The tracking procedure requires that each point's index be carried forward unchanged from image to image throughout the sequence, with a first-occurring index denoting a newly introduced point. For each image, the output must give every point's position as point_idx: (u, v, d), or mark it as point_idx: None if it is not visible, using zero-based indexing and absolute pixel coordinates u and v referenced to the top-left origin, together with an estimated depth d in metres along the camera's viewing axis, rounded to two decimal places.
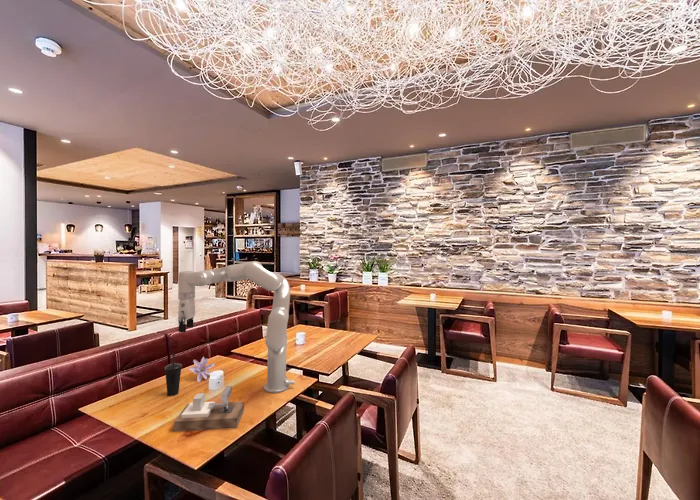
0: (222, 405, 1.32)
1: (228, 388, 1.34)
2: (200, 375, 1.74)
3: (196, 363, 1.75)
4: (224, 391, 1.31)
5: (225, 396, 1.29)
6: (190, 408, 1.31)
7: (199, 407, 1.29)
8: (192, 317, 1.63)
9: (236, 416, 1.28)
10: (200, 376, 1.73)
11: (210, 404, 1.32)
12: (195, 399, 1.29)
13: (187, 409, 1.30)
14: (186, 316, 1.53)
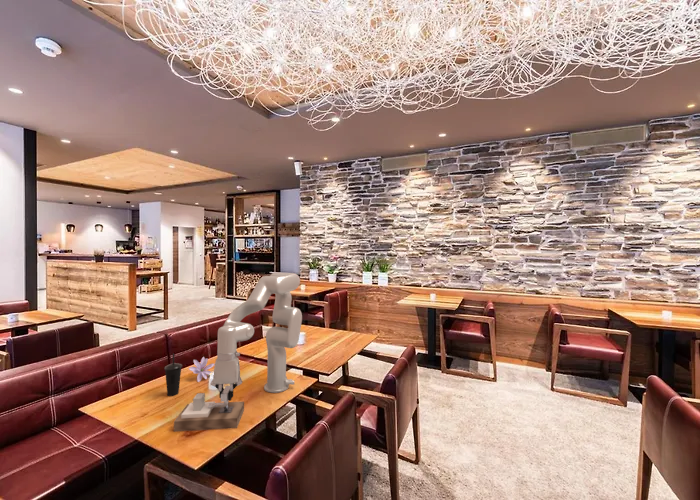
0: (222, 405, 1.32)
1: (228, 388, 1.34)
2: (200, 375, 1.74)
3: (196, 363, 1.75)
4: (224, 391, 1.31)
5: (225, 396, 1.29)
6: (190, 408, 1.31)
7: (199, 407, 1.29)
8: (222, 384, 1.34)
9: (236, 416, 1.28)
10: (200, 376, 1.73)
11: (210, 404, 1.32)
12: (195, 399, 1.29)
13: (187, 409, 1.30)
14: (239, 376, 1.35)
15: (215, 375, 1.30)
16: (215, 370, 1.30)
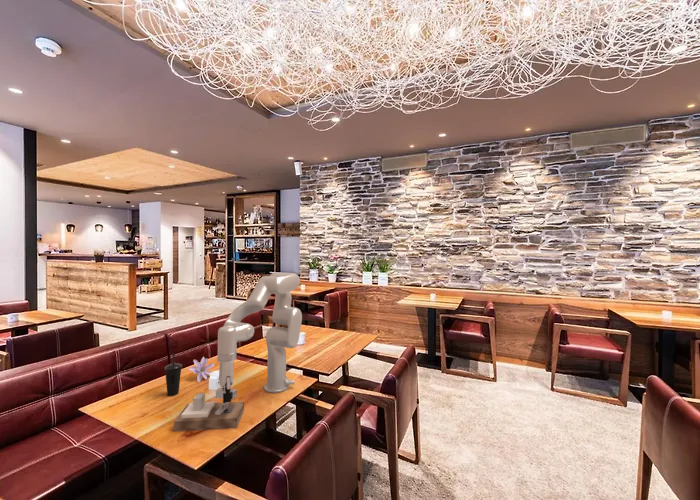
0: (226, 405, 1.31)
1: (223, 389, 1.33)
2: (200, 375, 1.74)
3: (196, 363, 1.75)
4: None
5: (236, 392, 1.33)
6: (190, 408, 1.31)
7: (199, 407, 1.29)
8: None
9: (236, 416, 1.28)
10: (200, 376, 1.73)
11: (219, 411, 1.26)
12: (195, 399, 1.29)
13: (187, 409, 1.30)
14: None
15: (233, 375, 1.30)
16: (233, 370, 1.30)
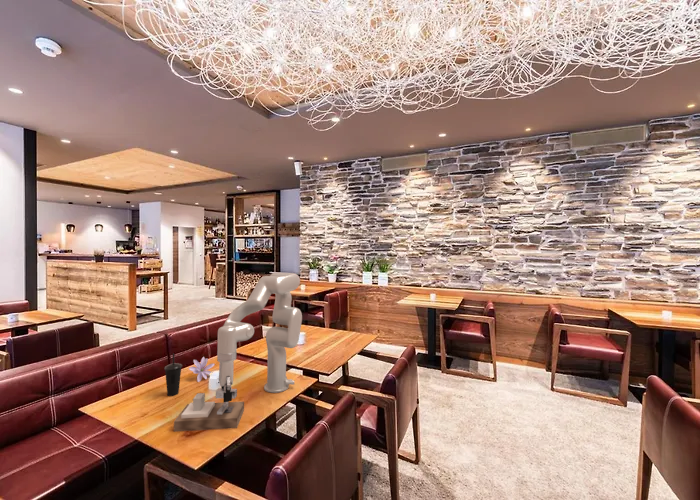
0: (227, 405, 1.31)
1: (223, 389, 1.33)
2: (200, 375, 1.74)
3: (196, 363, 1.75)
4: None
5: (236, 391, 1.33)
6: (190, 408, 1.31)
7: (199, 407, 1.29)
8: (224, 389, 1.28)
9: (236, 416, 1.28)
10: (200, 376, 1.73)
11: (220, 411, 1.26)
12: (195, 399, 1.29)
13: (187, 409, 1.30)
14: None
15: None
16: None
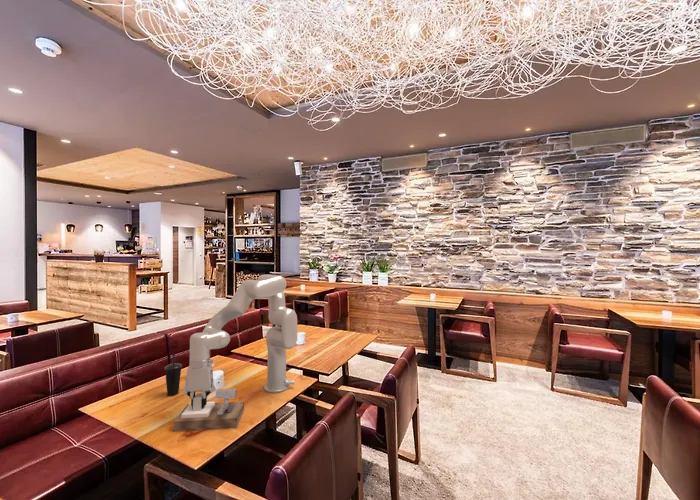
0: (227, 405, 1.31)
1: (223, 389, 1.33)
2: None
3: None
4: (230, 390, 1.32)
5: (236, 391, 1.33)
6: (190, 408, 1.31)
7: (199, 407, 1.29)
8: (195, 392, 1.32)
9: (236, 416, 1.28)
10: None
11: (221, 411, 1.26)
12: (195, 399, 1.29)
13: (187, 409, 1.30)
14: None
15: (187, 383, 1.29)
16: (187, 378, 1.29)
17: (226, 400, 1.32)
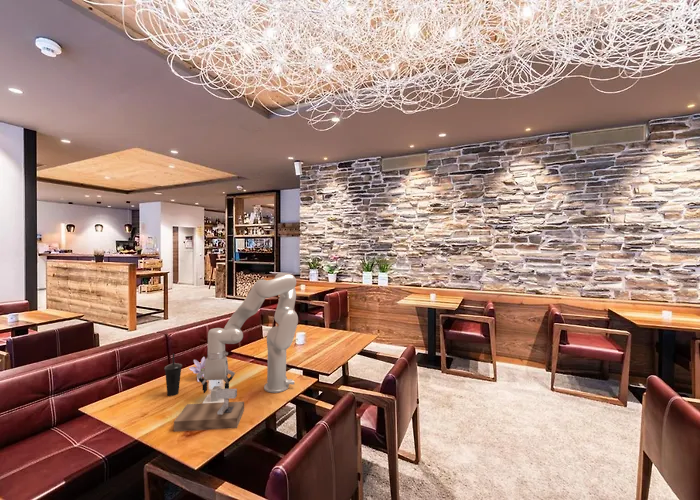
0: (227, 405, 1.31)
1: (223, 389, 1.33)
2: None
3: (196, 363, 1.75)
4: (230, 390, 1.32)
5: (236, 391, 1.33)
6: (208, 399, 1.48)
7: (216, 398, 1.46)
8: None
9: (236, 416, 1.28)
10: None
11: (221, 411, 1.26)
12: (213, 391, 1.46)
13: (205, 400, 1.47)
14: None
15: (205, 372, 1.46)
16: (205, 367, 1.46)
17: (226, 400, 1.32)
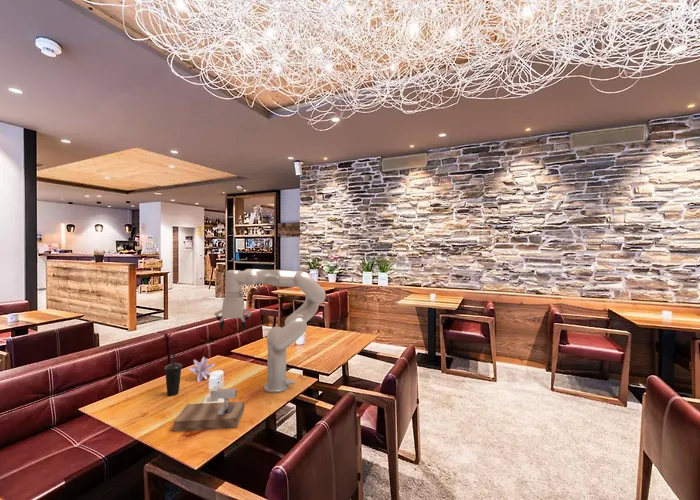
0: (227, 405, 1.31)
1: (223, 389, 1.33)
2: (200, 375, 1.74)
3: (196, 363, 1.75)
4: (230, 390, 1.32)
5: (236, 391, 1.33)
6: (208, 399, 1.48)
7: (216, 398, 1.46)
8: None
9: (236, 416, 1.28)
10: (200, 376, 1.73)
11: (221, 411, 1.26)
12: (213, 391, 1.46)
13: (205, 400, 1.47)
14: None
15: (223, 310, 1.52)
16: (223, 306, 1.52)
17: (226, 400, 1.32)
